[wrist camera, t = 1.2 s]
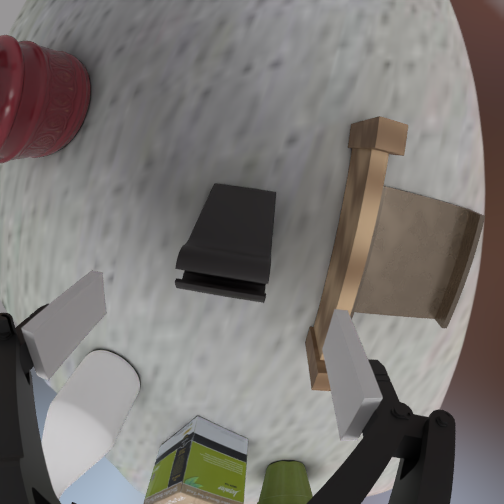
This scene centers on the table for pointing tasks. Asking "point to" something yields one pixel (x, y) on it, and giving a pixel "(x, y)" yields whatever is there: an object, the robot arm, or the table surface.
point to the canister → (39, 99)
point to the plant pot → (285, 484)
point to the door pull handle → (354, 229)
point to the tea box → (200, 467)
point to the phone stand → (230, 244)
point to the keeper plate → (418, 257)
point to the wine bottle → (87, 416)
